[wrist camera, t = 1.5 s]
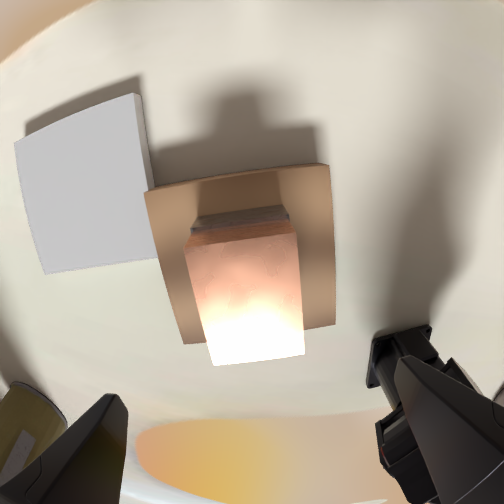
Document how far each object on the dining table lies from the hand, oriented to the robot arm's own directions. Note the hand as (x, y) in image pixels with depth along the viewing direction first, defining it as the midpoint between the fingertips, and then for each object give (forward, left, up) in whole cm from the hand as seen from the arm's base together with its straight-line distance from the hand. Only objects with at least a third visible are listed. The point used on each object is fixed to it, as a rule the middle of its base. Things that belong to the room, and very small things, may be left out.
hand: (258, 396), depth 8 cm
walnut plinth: (0, 0, -13) cm, 13 cm away
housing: (0, 0, -11) cm, 11 cm away
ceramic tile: (+6, +11, -13) cm, 18 cm away
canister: (-19, +33, -13) cm, 41 cm away
